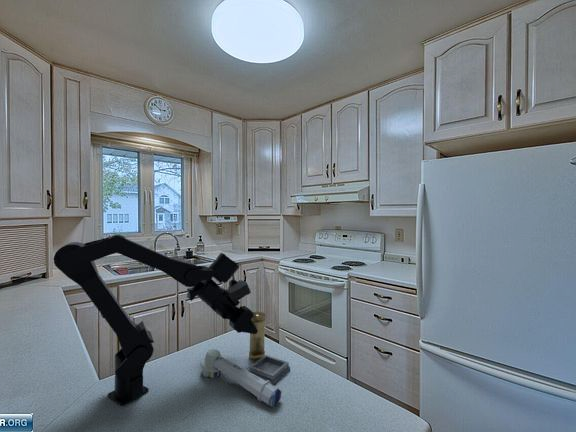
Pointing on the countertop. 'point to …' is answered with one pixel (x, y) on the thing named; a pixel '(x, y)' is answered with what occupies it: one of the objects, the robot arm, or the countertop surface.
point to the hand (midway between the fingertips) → (249, 327)
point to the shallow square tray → (270, 369)
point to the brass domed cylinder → (257, 337)
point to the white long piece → (240, 377)
